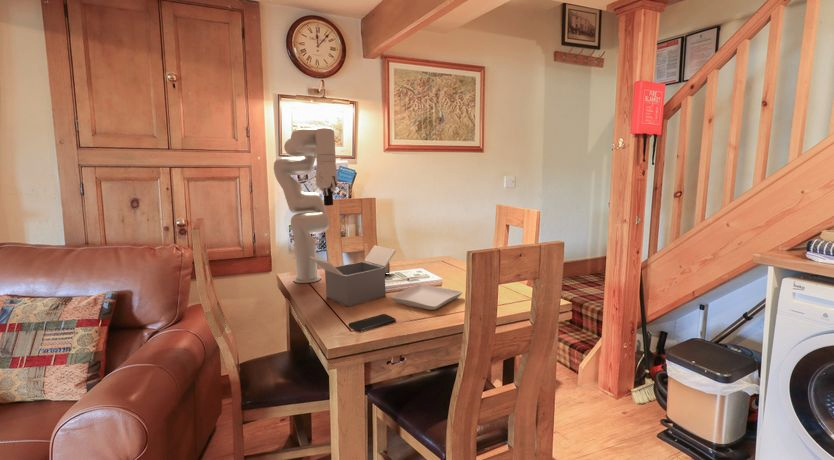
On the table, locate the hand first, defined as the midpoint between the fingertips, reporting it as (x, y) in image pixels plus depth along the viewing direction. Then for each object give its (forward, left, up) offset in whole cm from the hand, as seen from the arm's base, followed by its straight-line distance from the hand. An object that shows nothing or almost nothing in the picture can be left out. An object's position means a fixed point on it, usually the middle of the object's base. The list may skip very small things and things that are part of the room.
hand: (328, 205), depth 179 cm
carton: (+11, +4, -37) cm, 39 cm away
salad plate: (+35, +21, -38) cm, 56 cm away
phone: (+40, -8, -38) cm, 56 cm away
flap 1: (+11, -8, -22) cm, 26 cm away
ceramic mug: (-12, +32, -37) cm, 51 cm away
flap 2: (+11, +16, -22) cm, 29 cm away
